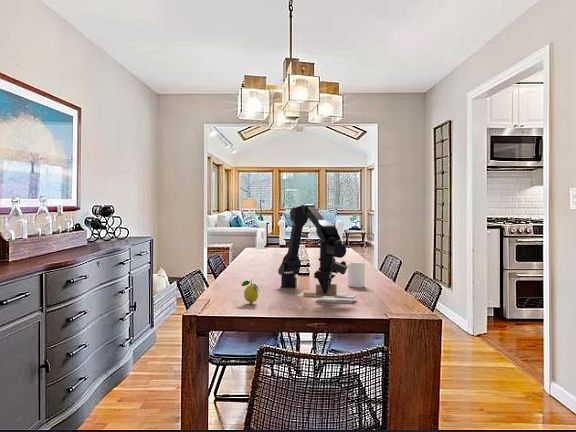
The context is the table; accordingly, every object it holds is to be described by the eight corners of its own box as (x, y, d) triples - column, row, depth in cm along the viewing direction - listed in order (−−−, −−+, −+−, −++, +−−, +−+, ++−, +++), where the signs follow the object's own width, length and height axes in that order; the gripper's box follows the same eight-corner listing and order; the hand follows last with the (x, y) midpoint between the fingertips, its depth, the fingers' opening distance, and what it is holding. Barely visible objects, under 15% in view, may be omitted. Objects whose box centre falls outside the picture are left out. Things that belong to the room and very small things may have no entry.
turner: (314, 296, 212) (314, 285, 212) (318, 293, 219) (319, 282, 219) (353, 298, 208) (353, 287, 207) (356, 295, 214) (356, 285, 214)
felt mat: (296, 296, 222) (296, 295, 222) (303, 292, 233) (303, 291, 233) (328, 299, 218) (328, 298, 218) (334, 294, 229) (334, 293, 229)
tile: (308, 292, 229) (303, 296, 222) (308, 289, 229) (303, 292, 221) (325, 294, 227) (321, 297, 219) (325, 290, 227) (321, 293, 219)
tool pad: (312, 301, 212) (312, 300, 212) (316, 298, 220) (316, 297, 220) (350, 304, 207) (350, 303, 207) (354, 300, 215) (354, 299, 215)
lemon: (240, 302, 208) (241, 277, 208) (254, 301, 210) (254, 277, 210) (246, 305, 202) (246, 280, 201) (260, 304, 204) (260, 279, 204)
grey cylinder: (364, 288, 245) (364, 263, 245) (347, 287, 247) (347, 262, 246) (365, 285, 253) (365, 261, 253) (348, 285, 255) (348, 260, 254)
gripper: (341, 258, 203) (341, 298, 203) (350, 254, 220) (349, 290, 221) (314, 257, 206) (313, 296, 206) (324, 252, 224) (324, 288, 224)
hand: (326, 292), depth 214 cm, fingers closed on turner, 3 cm apart
